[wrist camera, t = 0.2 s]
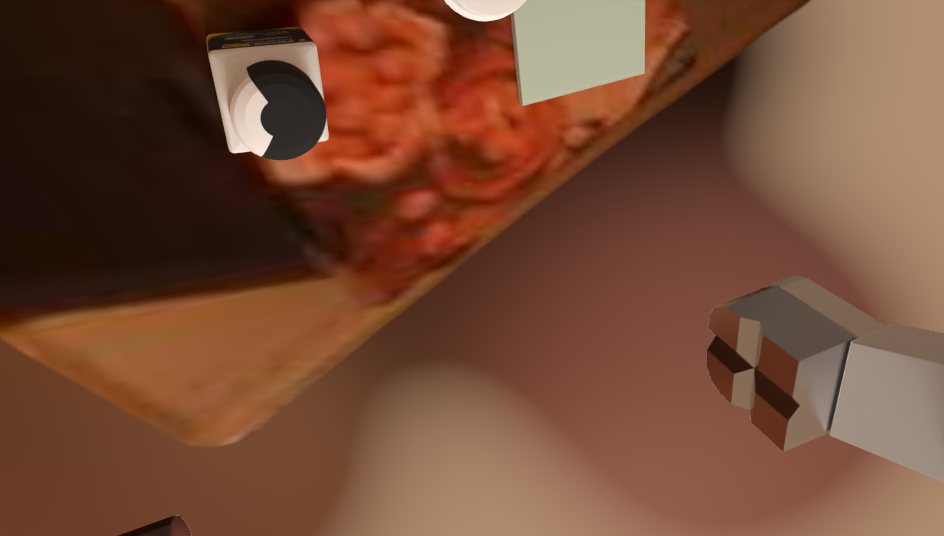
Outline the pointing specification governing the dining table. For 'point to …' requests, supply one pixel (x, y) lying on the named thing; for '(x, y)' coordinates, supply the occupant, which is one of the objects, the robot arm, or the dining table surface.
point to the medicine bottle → (269, 91)
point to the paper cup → (484, 8)
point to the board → (576, 45)
